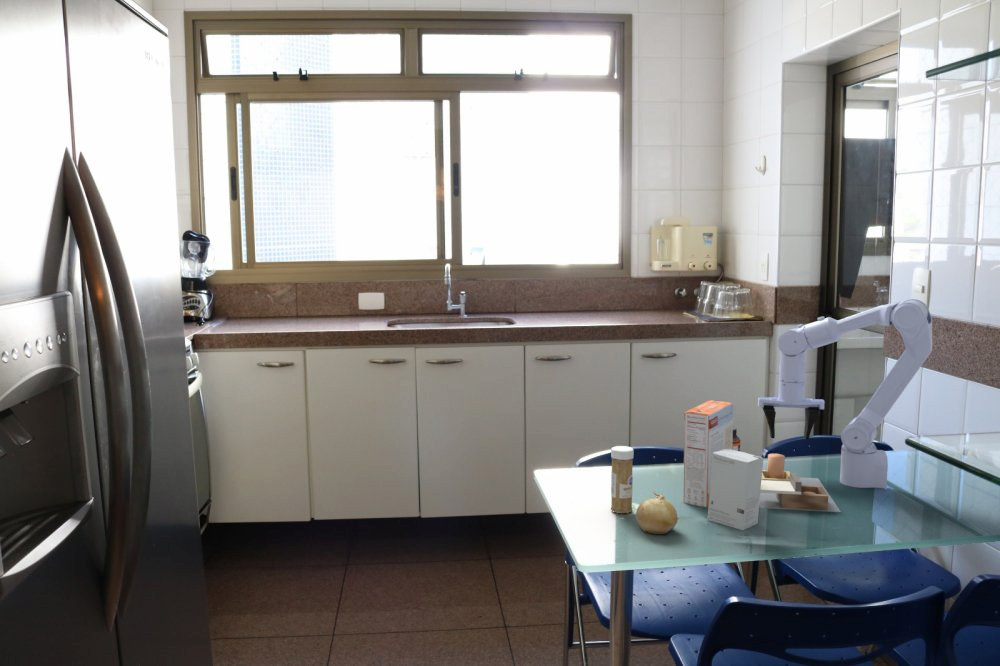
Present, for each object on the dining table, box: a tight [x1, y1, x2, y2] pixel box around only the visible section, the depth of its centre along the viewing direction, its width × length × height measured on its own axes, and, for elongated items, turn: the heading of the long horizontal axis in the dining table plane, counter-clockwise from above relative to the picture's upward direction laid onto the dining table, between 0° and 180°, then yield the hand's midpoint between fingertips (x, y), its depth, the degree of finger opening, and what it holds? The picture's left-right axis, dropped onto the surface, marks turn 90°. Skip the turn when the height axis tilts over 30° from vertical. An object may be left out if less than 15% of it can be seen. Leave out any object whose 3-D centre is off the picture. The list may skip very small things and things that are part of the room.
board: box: [759, 469, 842, 513], centre depth 184 cm, size 16×23×3 cm
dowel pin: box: [767, 453, 786, 479], centre depth 192 cm, size 4×4×6 cm
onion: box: [635, 491, 679, 535], centre depth 165 cm, size 8×8×7 cm
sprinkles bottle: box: [610, 445, 634, 514], centre depth 175 cm, size 5×5×14 cm
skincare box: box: [706, 449, 764, 531], centre depth 166 cm, size 8×6×15 cm
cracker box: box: [682, 399, 734, 509], centre depth 181 cm, size 14×6×21 cm, turn 145°
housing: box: [776, 485, 828, 511], centre depth 177 cm, size 9×7×3 cm
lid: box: [760, 471, 802, 495], centre depth 177 cm, size 8×7×3 cm
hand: (789, 437), depth 198 cm, fingers open, 7 cm apart
